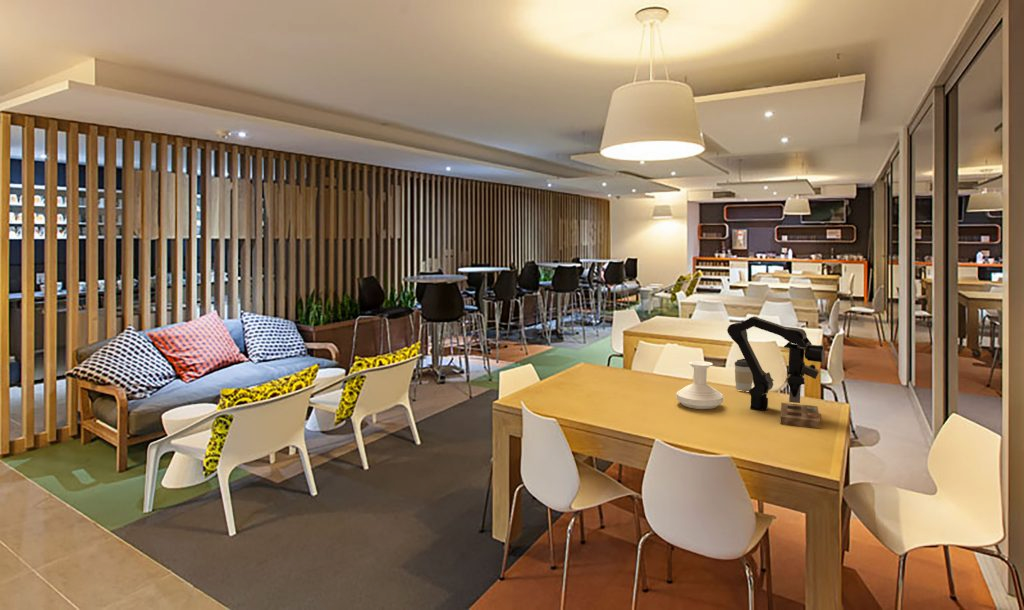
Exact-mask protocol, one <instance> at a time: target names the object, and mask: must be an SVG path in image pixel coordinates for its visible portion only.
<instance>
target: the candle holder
mask: <svg viewBox="0 0 1024 610" xmlns="http://www.w3.org/2000/svg"><path fill="white" fill-rule="evenodd" d="M687 364H689V365H690V366H691V367H692V368H693V382H692V383H691V384H687V385H686V386H684V387H683V388H681V389H679V390H678V391H676V401H678V402H679V403H680V404H681V405H683V406H684V407H686V408H690V409H697V410H711V409H715V408H717V407H718V406H719V405H720V406H721V404H723V403H724V394H722V393H721V392H720V391H719V390H717V389H715V388H714V387H712V386H711V385H709V384H707V378H708V377H707V374H708V373H707V369H708V368H709V367H711V366H713V365H714V364H713V363H712V362H709V361H707V360H706V361H704V360H692V361H691V360H690V361H688V363H687Z"/></svg>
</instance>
